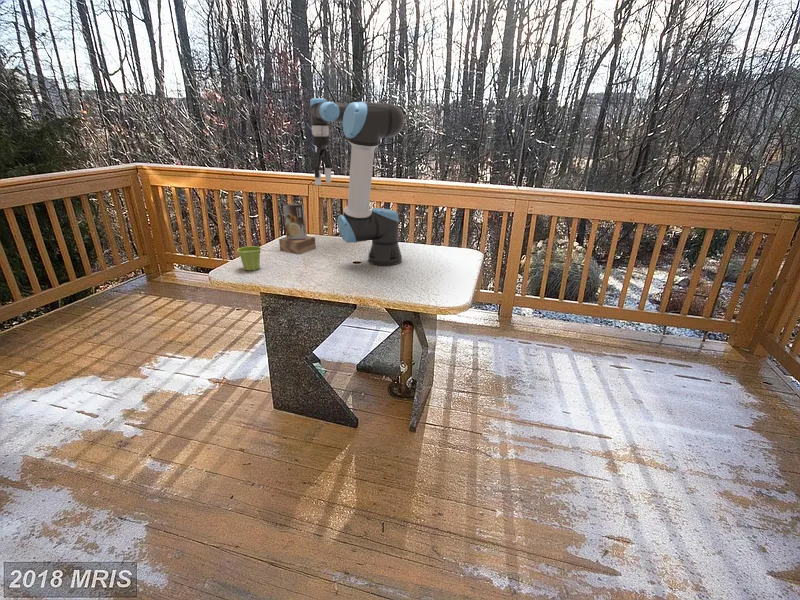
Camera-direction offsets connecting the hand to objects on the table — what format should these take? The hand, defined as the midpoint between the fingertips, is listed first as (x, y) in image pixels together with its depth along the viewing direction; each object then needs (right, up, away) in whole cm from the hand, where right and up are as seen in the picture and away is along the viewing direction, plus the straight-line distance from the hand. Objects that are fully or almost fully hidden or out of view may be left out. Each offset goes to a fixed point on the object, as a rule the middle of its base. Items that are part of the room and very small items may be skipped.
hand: (323, 183), depth 190 cm
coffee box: (-13, -27, +1) cm, 30 cm away
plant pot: (-25, -44, -25) cm, 56 cm away
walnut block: (-13, -32, +3) cm, 35 cm away
